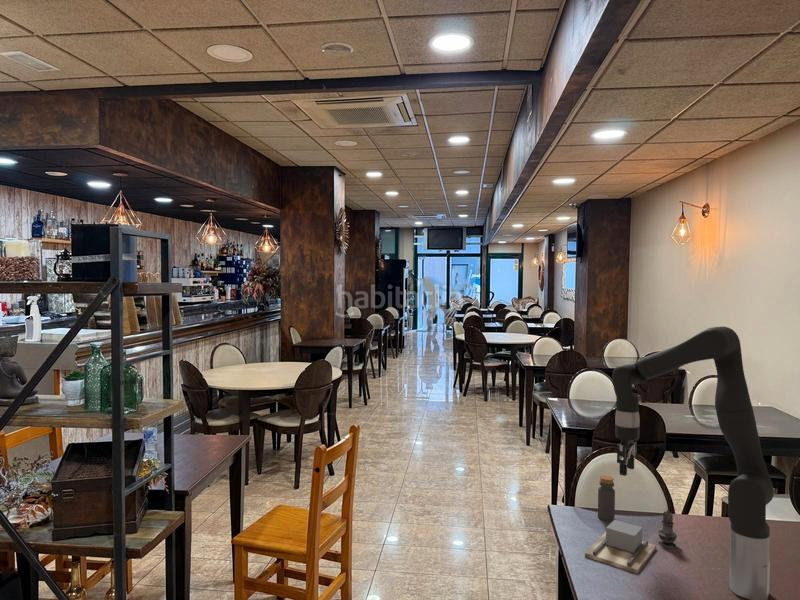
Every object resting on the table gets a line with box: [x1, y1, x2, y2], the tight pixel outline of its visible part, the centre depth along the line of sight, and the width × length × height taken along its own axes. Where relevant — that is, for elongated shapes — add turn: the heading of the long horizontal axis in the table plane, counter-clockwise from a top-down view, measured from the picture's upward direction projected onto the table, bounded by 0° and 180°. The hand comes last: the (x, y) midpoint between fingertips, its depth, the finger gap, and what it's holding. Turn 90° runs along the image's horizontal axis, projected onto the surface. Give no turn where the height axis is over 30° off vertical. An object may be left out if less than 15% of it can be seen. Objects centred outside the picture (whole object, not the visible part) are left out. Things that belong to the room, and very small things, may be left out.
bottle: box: [597, 475, 616, 522], centre depth 203 cm, size 6×6×15 cm
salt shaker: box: [657, 508, 678, 549], centre depth 183 cm, size 6×6×12 cm
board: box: [584, 531, 657, 574], centre depth 177 cm, size 16×20×2 cm
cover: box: [605, 519, 643, 553], centre depth 179 cm, size 9×8×6 cm
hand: (627, 471), depth 184 cm, fingers open, 8 cm apart
